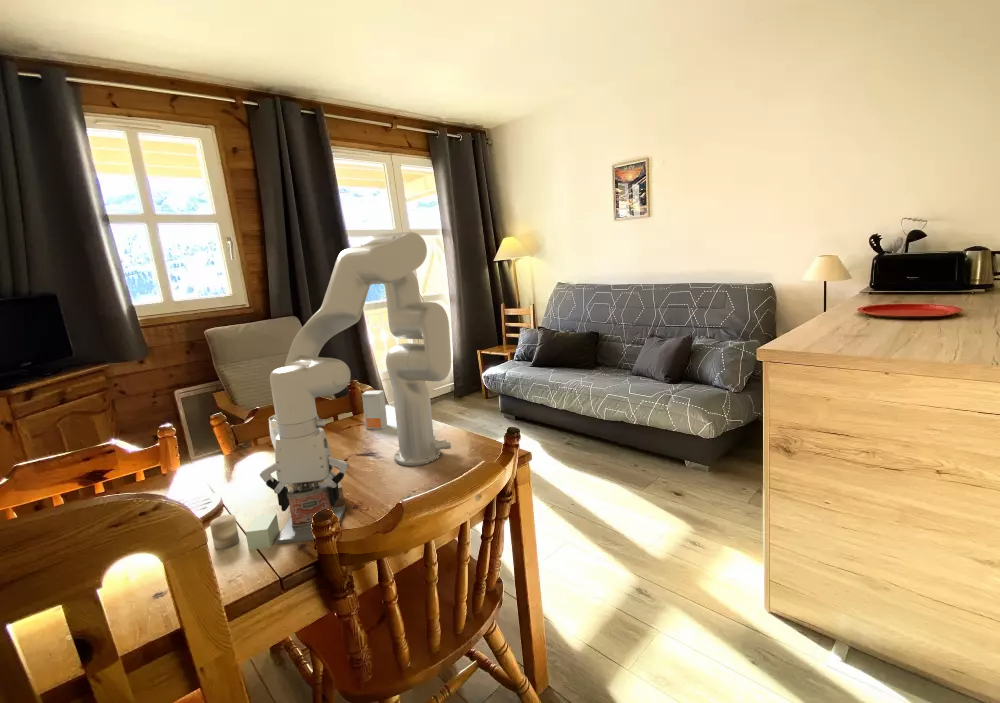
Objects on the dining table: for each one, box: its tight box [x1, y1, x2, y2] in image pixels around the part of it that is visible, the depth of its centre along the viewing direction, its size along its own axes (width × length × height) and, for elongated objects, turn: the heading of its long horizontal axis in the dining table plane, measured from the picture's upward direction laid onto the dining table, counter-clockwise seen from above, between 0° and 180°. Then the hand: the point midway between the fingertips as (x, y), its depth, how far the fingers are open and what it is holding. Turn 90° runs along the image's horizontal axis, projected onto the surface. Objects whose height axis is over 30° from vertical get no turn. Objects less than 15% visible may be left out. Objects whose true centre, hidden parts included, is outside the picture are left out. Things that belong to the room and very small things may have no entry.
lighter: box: [287, 480, 331, 529], centre depth 101 cm, size 8×3×10 cm, turn 114°
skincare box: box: [361, 389, 388, 430], centre depth 158 cm, size 6×4×12 cm
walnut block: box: [331, 481, 345, 508], centre depth 110 cm, size 4×4×4 cm
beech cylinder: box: [209, 514, 240, 551], centre depth 97 cm, size 4×4×5 cm
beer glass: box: [268, 414, 278, 450], centre depth 129 cm, size 7×7×15 cm
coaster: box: [275, 505, 346, 545], centre depth 102 cm, size 11×11×1 cm
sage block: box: [245, 513, 280, 551], centre depth 97 cm, size 4×6×4 cm
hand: (310, 505), depth 101 cm, fingers open, 9 cm apart
